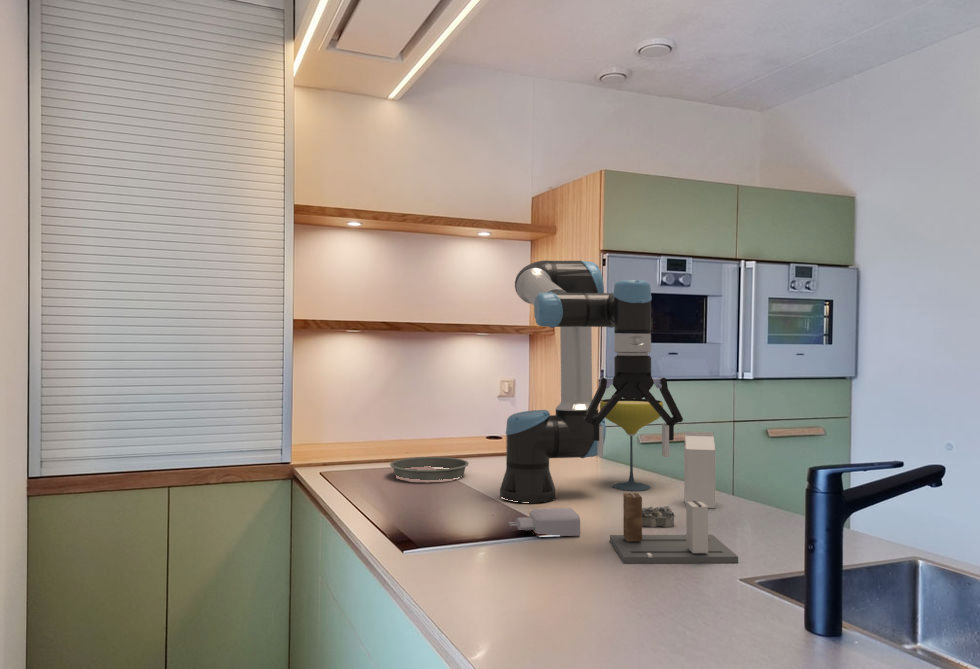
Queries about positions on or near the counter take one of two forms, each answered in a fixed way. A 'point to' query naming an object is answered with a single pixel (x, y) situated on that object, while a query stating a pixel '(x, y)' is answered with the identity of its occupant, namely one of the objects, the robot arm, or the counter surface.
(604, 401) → the cocktail glass
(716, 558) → the console
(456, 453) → the counter surface
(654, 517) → the egg carton
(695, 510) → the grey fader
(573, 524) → the grey bottle
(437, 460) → the cake pan
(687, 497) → the milk carton
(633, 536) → the block
